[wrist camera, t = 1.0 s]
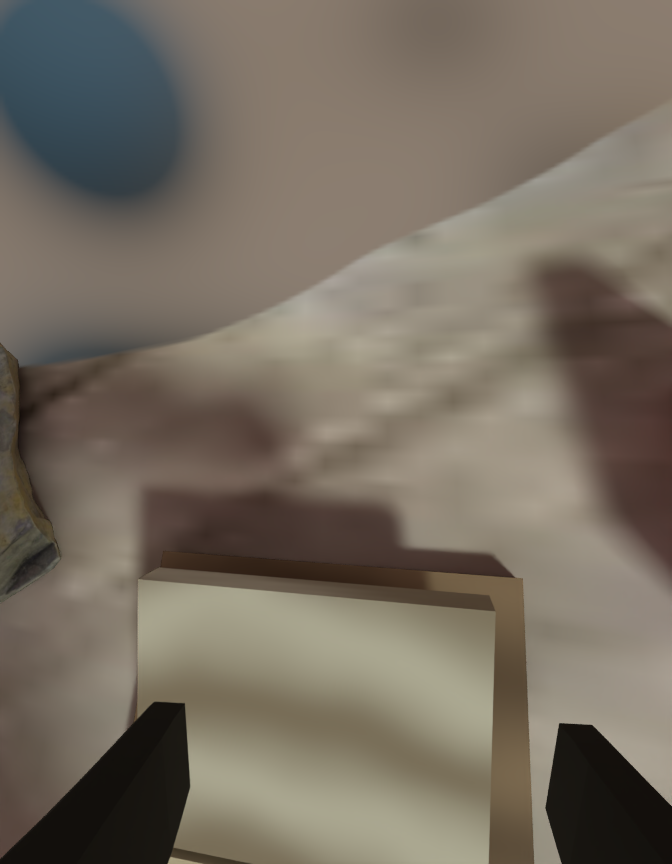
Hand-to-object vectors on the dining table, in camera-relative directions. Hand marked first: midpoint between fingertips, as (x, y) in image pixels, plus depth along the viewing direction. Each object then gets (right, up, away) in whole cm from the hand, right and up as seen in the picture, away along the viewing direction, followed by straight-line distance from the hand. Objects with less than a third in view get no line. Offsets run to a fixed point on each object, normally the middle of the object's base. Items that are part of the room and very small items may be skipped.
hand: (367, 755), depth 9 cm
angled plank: (-2, -5, +10) cm, 12 cm away
